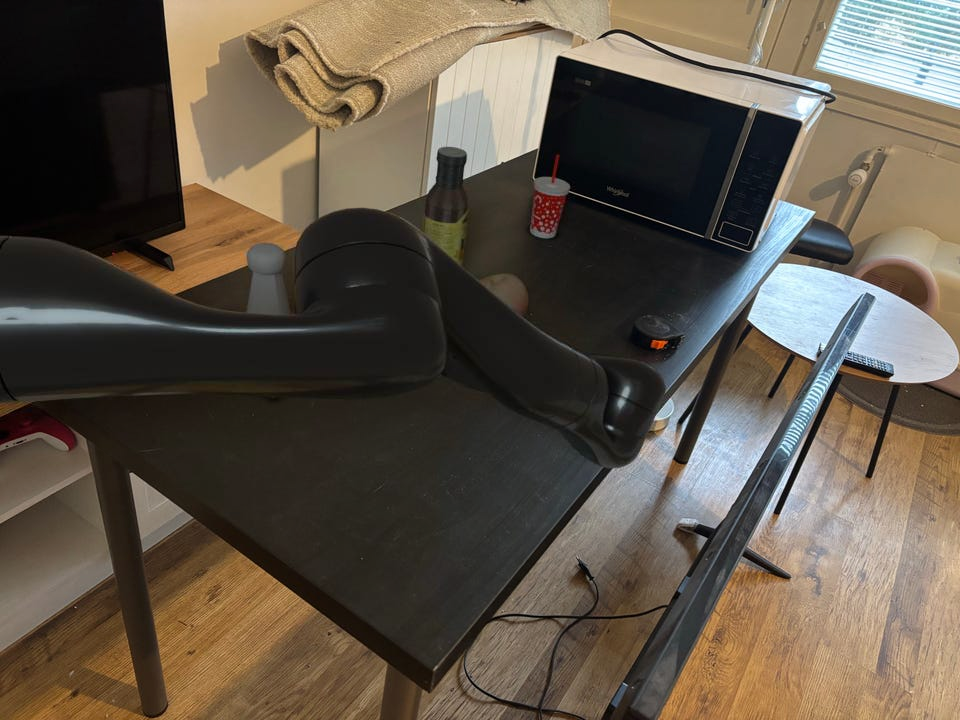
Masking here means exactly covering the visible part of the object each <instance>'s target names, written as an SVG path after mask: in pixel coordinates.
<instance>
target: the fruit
mask: <svg viewBox="0 0 960 720" xmlns="http://www.w3.org/2000/svg"><path fill="white" fill-rule="evenodd" d="M478 281H480V282H481V283H482V284H483V285H484V286H486V287H487V288H488V289H489V290H490V291H492V292H493V293H494V294H495V295H496V296H497V297H499V298H500V299H501V300H502V301H504V302H505V303H506V304H507V305H509V306H510V307H511V308H512V309H514V310H515V311H516V312H517V313H519V314H520V315H521V316H523V317H524V318H525V316H526V314H527V311H528V307H529V293H528V291H527V288H526V285H524V283H523V282H522V280H521V279H520V278H518V277H517V275H514V274H511V273H505V272H504V273H497V274H492V275H489V276H486V277H484V278H481V279H478Z"/></svg>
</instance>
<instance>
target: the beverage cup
mask: <svg viewBox="0 0 960 720" xmlns="http://www.w3.org/2000/svg"><path fill="white" fill-rule="evenodd" d="M559 159H560V154H556V155H555V161H554V165H553V171H552V176H540V177H537V178H535V179H534V181H533V188H534V191H533V201H532V208H531V218H530V225H529V232H530V234H531V235H533V236H534V237H537V238H539V239H540V238H541V239H552V238H555V237H556V234H557V230H558V227H559V224H560V221H561V217H562V212H563V209H564V207H565V206H564V205H565V202H566V199H567V195H568V194H569V193H570V189H571V185H570V184H569V183H568V182H567V181H565V180H563V179H560V178H557V177H556V175H557V169H558V165H559Z"/></svg>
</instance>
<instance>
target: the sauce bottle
mask: <svg viewBox="0 0 960 720" xmlns="http://www.w3.org/2000/svg"><path fill="white" fill-rule="evenodd" d="M435 160H436V162H437V165H436V166H437V168H436V176H435V183H434V184H433V185H432V186H431V188H430V189H429V191H428V193H427V194H426V197H425V207H424V211H423V221H422V230H421V231H422V232H423V233H424V234H426V235H427V236H428V237H429V238H430V239H431V240H433V241H434V242H435V243H436V244H437V245H438V246H439V247H440V248H442V249H443V250H444V251H445V252H446V253H447V254H448V255H449V256H450V257H452V258H453V259H454V260H455V261H456V262H457V263H458V264H459V265H461V266H462V267H463V262H464V261H463V260H464V253H465V246H466V237H467V229H468V217H469V208H470V204H469V197H468V194H467V192H466V190H465V188H464V187H463V185H464V174H465V166H466V164H467V160H468V153H467V151H466V150H464V149H462V148H459V147H455V146H441V147H439V148H438V149H437V153H436V159H435Z"/></svg>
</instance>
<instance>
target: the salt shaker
mask: <svg viewBox="0 0 960 720" xmlns="http://www.w3.org/2000/svg"><path fill="white" fill-rule="evenodd" d="M246 263H247V267H248V269H249V270H250V271H252V277H251V281H250V282H251V283H250V288H249V293H248V300H247V305H246V310H247V311H246V310H245V311H246V313H258V314H273V315H291V312H292V311H291V308H290V303H289V299H288V295H287V290H286V286H285V283H284V282H285V281H284V277H283V273H282V271H283V270H284V268H285V267H286V266H287V265H286V264H287V257H286V253H285V249H283V248H282V247H281V246H279V245H278V244H275V243H271V242H260V243H256V244H254V245H252V246H251V247H249V248H248V250H247V251H246ZM290 311H291V312H290Z"/></svg>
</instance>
